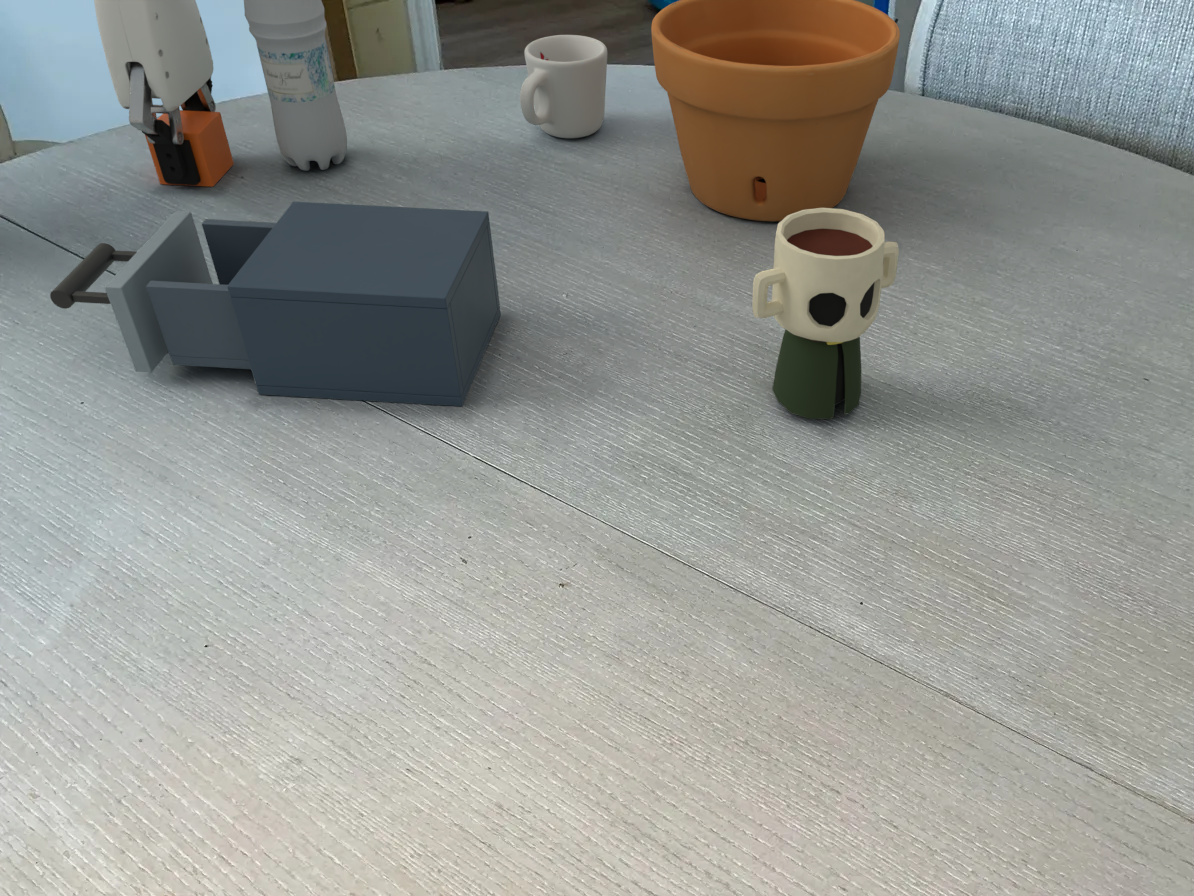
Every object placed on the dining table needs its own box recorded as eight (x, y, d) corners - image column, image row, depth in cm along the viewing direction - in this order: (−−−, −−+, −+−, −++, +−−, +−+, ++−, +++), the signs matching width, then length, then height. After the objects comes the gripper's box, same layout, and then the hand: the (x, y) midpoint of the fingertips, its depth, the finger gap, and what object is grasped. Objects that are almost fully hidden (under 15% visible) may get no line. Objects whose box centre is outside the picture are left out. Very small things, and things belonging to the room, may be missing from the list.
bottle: (267, 171, 110) (209, -61, 97) (302, 143, 115) (252, -82, 102) (332, 180, 109) (283, -54, 96) (365, 151, 114) (323, -75, 101)
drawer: (56, 367, 83) (20, 282, 79) (129, 287, 92) (100, 206, 87) (322, 383, 83) (301, 297, 78) (370, 300, 91) (354, 219, 87)
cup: (561, 162, 113) (555, 78, 107) (497, 143, 116) (487, 60, 110) (626, 125, 120) (623, 44, 114) (563, 108, 123) (558, 28, 117)
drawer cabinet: (258, 394, 83) (226, 286, 77) (317, 303, 92) (293, 201, 87) (462, 406, 82) (445, 298, 77) (501, 313, 92) (488, 210, 86)
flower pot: (663, 138, 117) (661, -20, 108) (874, 145, 117) (891, -13, 107) (644, 237, 102) (640, 63, 92) (888, 245, 101) (910, 71, 91)
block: (160, 184, 108) (143, 131, 104) (182, 161, 111) (167, 109, 108) (213, 187, 107) (198, 133, 104) (234, 164, 111) (220, 111, 108)
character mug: (773, 447, 79) (783, 274, 71) (725, 393, 84) (729, 224, 75) (908, 407, 83) (933, 238, 75) (854, 357, 88) (873, 193, 79)
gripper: (137, -71, 104) (194, 131, 116) (38, -11, 91) (114, 209, 103) (220, -68, 103) (269, 134, 115) (133, -7, 91) (198, 213, 103)
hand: (195, 167), depth 109 cm, fingers closed on block, 5 cm apart
